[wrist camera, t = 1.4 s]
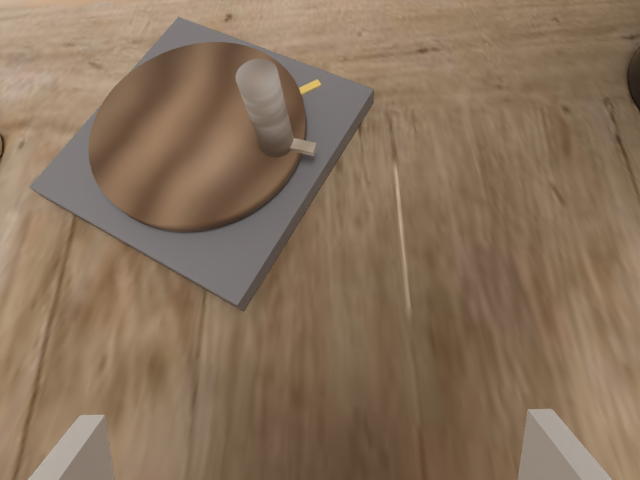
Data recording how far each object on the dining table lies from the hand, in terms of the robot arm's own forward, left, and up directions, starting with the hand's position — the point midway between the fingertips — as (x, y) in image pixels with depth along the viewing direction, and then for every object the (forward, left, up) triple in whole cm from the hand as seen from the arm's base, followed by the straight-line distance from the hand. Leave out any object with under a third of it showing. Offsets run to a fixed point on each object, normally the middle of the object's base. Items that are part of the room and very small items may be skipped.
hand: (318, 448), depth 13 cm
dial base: (-16, -24, -20) cm, 35 cm away
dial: (-16, -24, -17) cm, 33 cm away
